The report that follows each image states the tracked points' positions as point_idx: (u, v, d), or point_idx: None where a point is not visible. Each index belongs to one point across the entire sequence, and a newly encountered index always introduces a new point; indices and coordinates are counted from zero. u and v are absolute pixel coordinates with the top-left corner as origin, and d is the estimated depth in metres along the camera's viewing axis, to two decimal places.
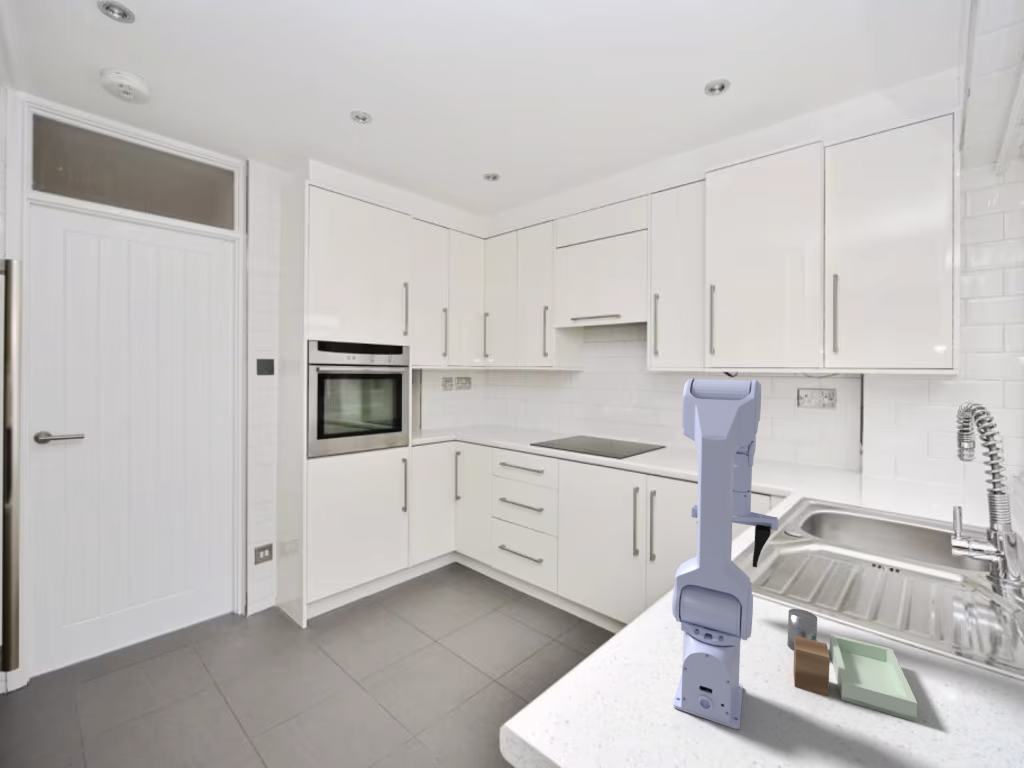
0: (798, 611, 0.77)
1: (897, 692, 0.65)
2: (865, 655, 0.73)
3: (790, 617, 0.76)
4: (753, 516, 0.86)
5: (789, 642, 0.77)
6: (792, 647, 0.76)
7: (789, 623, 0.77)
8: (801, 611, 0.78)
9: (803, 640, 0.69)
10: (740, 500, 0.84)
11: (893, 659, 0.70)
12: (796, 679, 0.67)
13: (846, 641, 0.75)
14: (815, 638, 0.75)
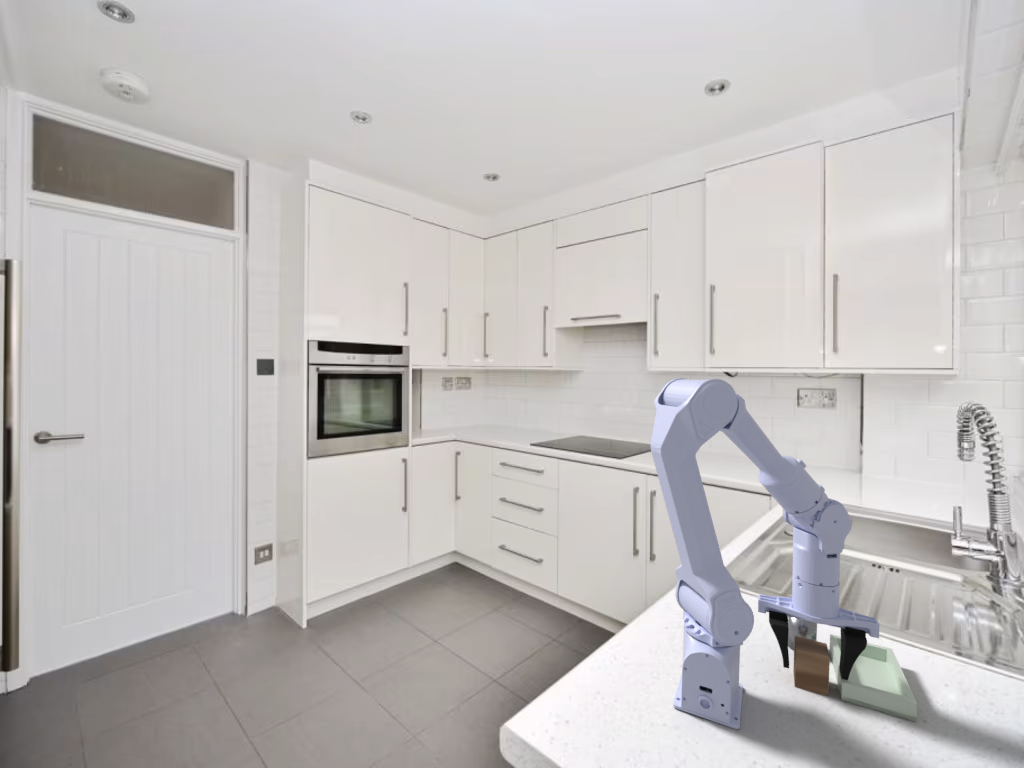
0: None
1: (897, 692, 0.65)
2: (865, 655, 0.73)
3: (790, 617, 0.76)
4: (843, 616, 0.65)
5: (789, 642, 0.77)
6: (792, 647, 0.76)
7: (789, 623, 0.77)
8: None
9: (803, 640, 0.69)
10: (827, 597, 0.64)
11: (893, 659, 0.70)
12: (796, 679, 0.67)
13: None
14: (815, 638, 0.75)
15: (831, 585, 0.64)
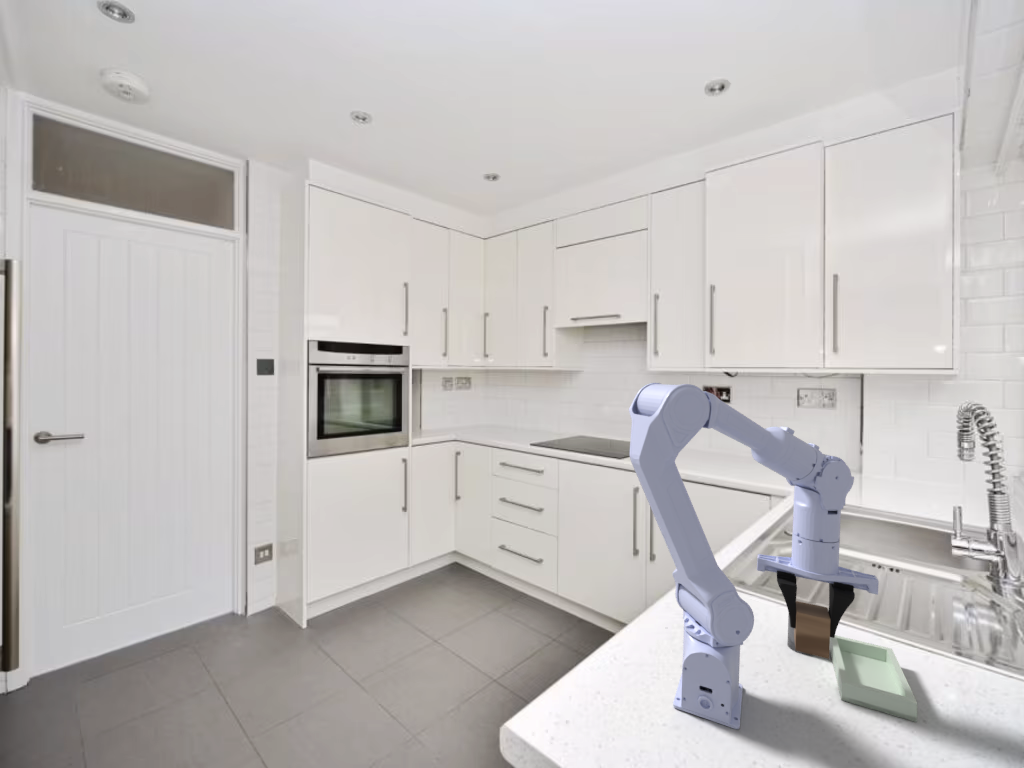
0: None
1: (897, 692, 0.65)
2: (865, 655, 0.73)
3: None
4: (842, 573, 0.65)
5: (789, 642, 0.77)
6: (792, 647, 0.76)
7: (789, 623, 0.77)
8: None
9: (803, 604, 0.69)
10: (826, 553, 0.64)
11: (893, 659, 0.70)
12: (797, 642, 0.66)
13: (846, 641, 0.75)
14: None
15: (831, 541, 0.64)
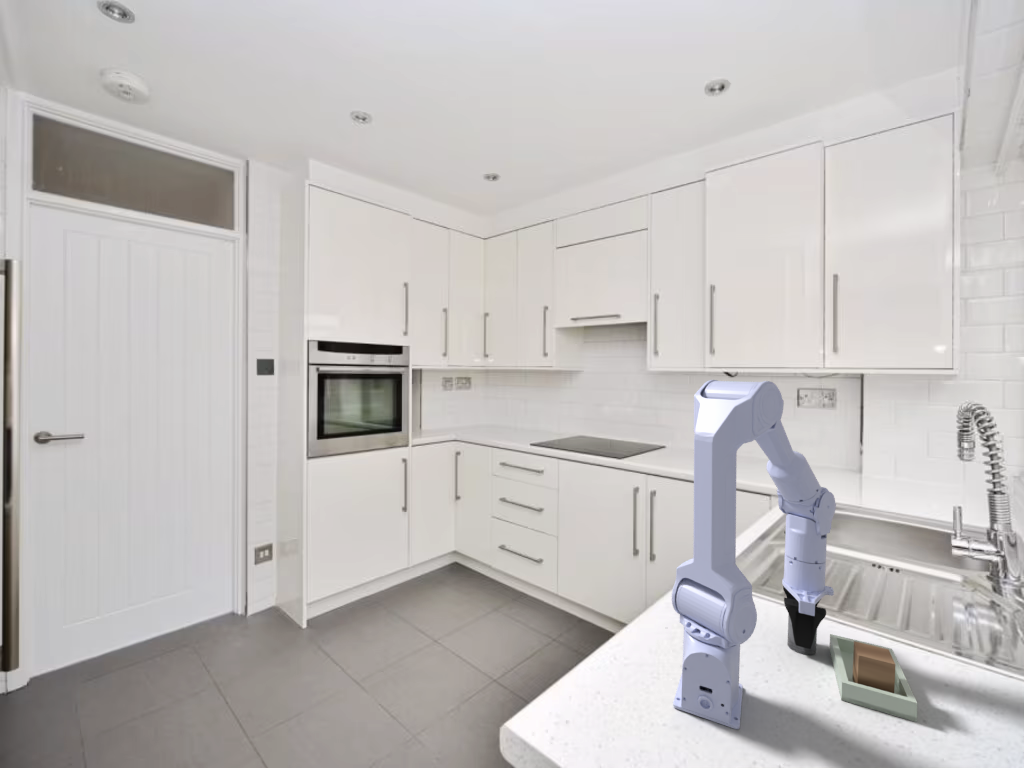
0: None
1: (897, 692, 0.65)
2: None
3: None
4: (803, 592, 0.73)
5: (789, 642, 0.77)
6: (792, 647, 0.76)
7: (789, 623, 0.77)
8: None
9: (863, 646, 0.67)
10: (786, 565, 0.76)
11: (893, 659, 0.70)
12: None
13: (846, 641, 0.75)
14: (815, 638, 0.75)
15: (789, 556, 0.76)
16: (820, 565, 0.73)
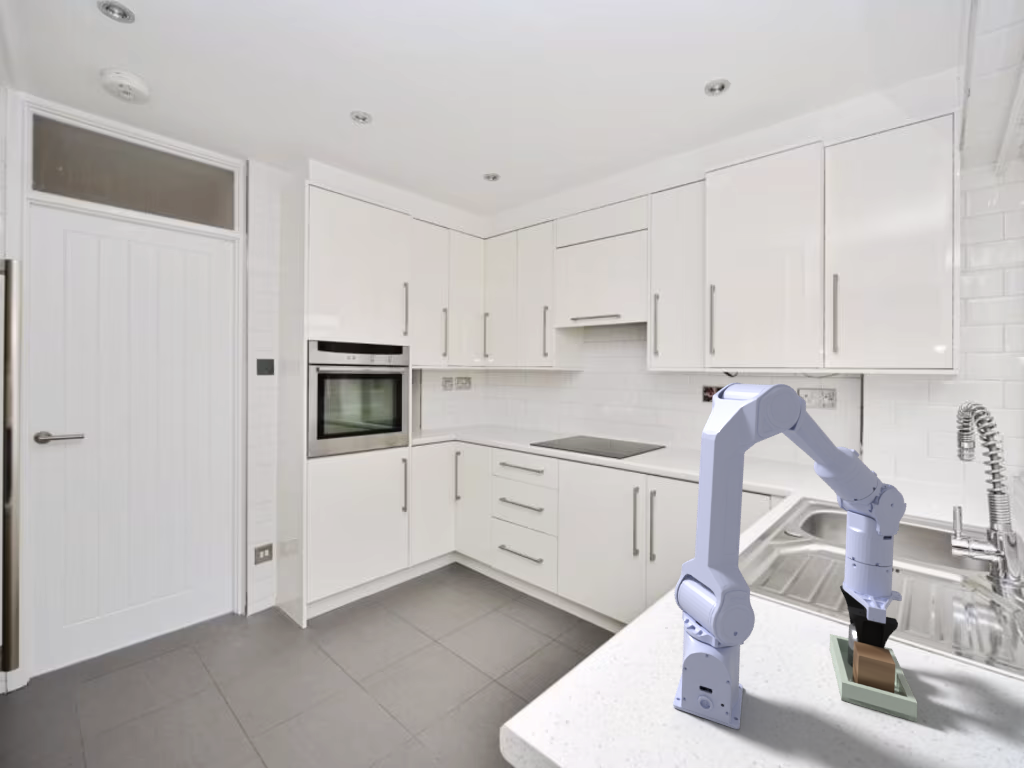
0: None
1: (897, 692, 0.65)
2: None
3: (851, 633, 0.71)
4: (869, 598, 0.68)
5: (850, 659, 0.71)
6: None
7: (850, 639, 0.71)
8: None
9: (863, 646, 0.67)
10: (848, 567, 0.71)
11: (893, 659, 0.70)
12: None
13: (846, 641, 0.75)
14: None
15: (852, 558, 0.70)
16: (887, 568, 0.68)
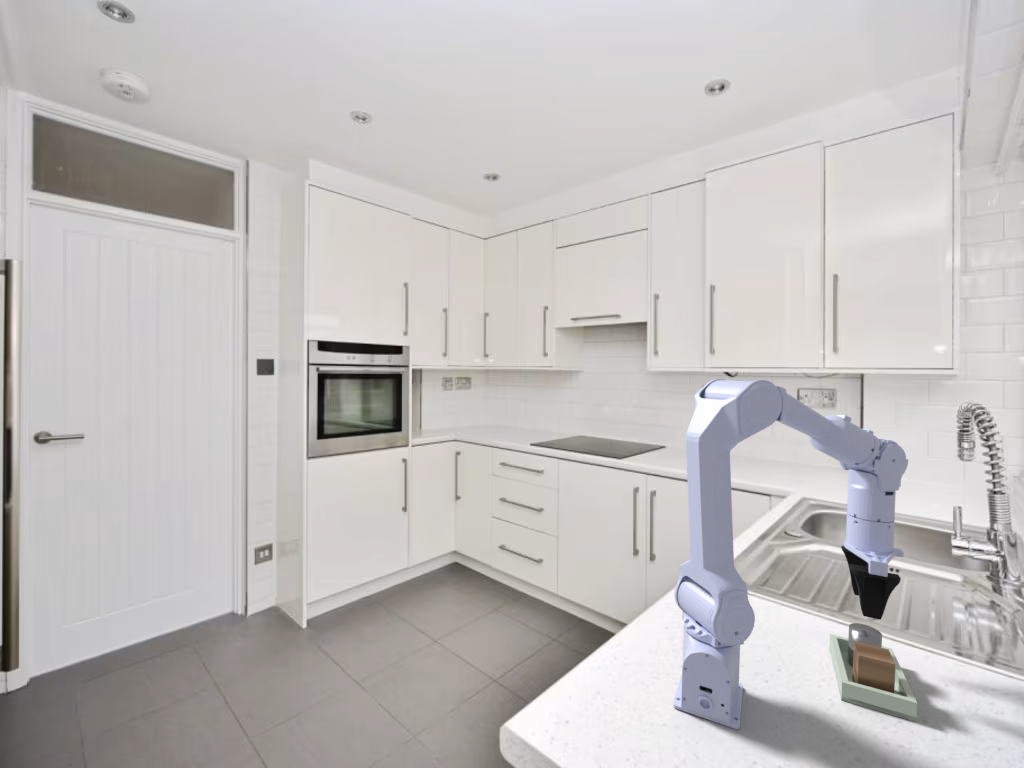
0: (860, 626, 0.72)
1: (897, 692, 0.65)
2: None
3: (851, 633, 0.71)
4: (871, 553, 0.68)
5: (850, 659, 0.71)
6: None
7: (850, 639, 0.71)
8: (863, 626, 0.72)
9: (863, 646, 0.67)
10: (849, 525, 0.71)
11: (893, 659, 0.70)
12: None
13: (846, 641, 0.75)
14: None
15: (853, 515, 0.70)
16: (889, 524, 0.68)
